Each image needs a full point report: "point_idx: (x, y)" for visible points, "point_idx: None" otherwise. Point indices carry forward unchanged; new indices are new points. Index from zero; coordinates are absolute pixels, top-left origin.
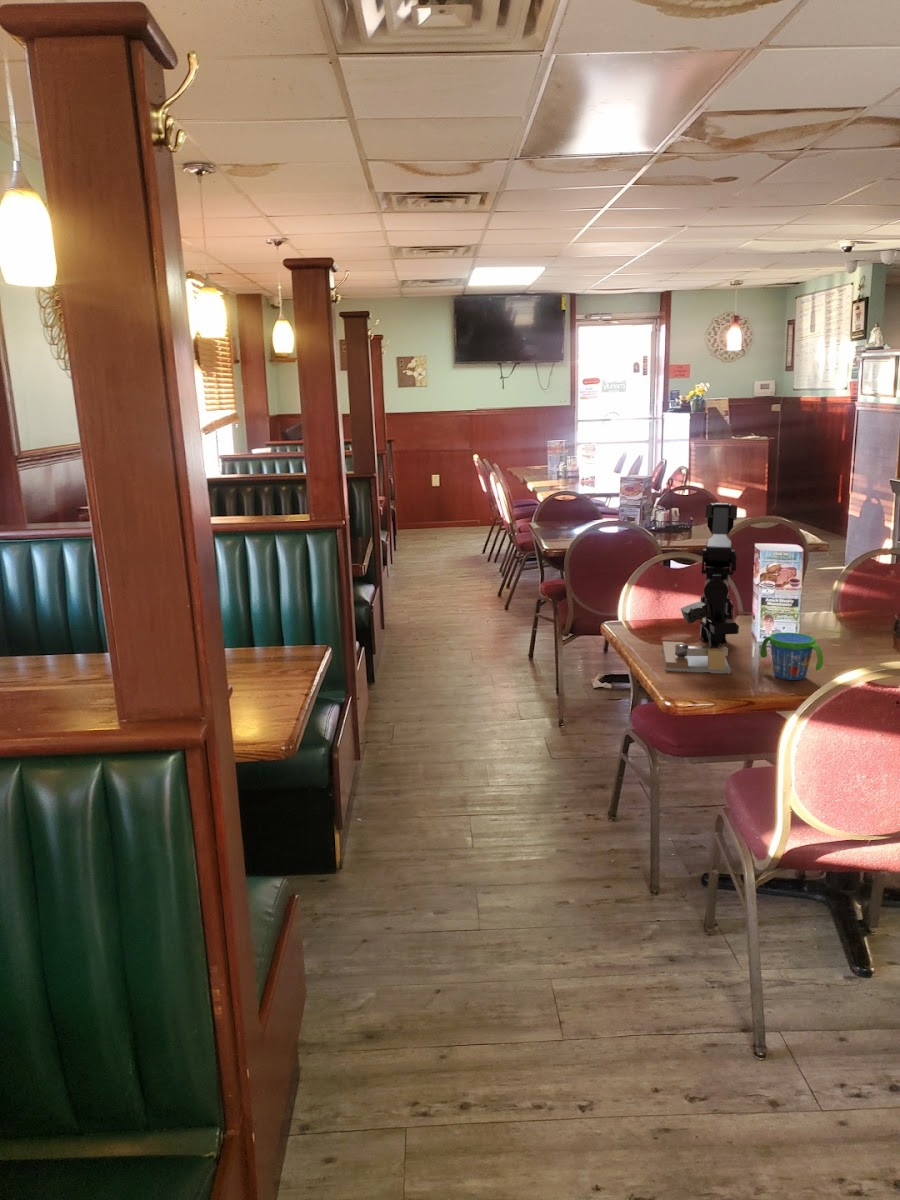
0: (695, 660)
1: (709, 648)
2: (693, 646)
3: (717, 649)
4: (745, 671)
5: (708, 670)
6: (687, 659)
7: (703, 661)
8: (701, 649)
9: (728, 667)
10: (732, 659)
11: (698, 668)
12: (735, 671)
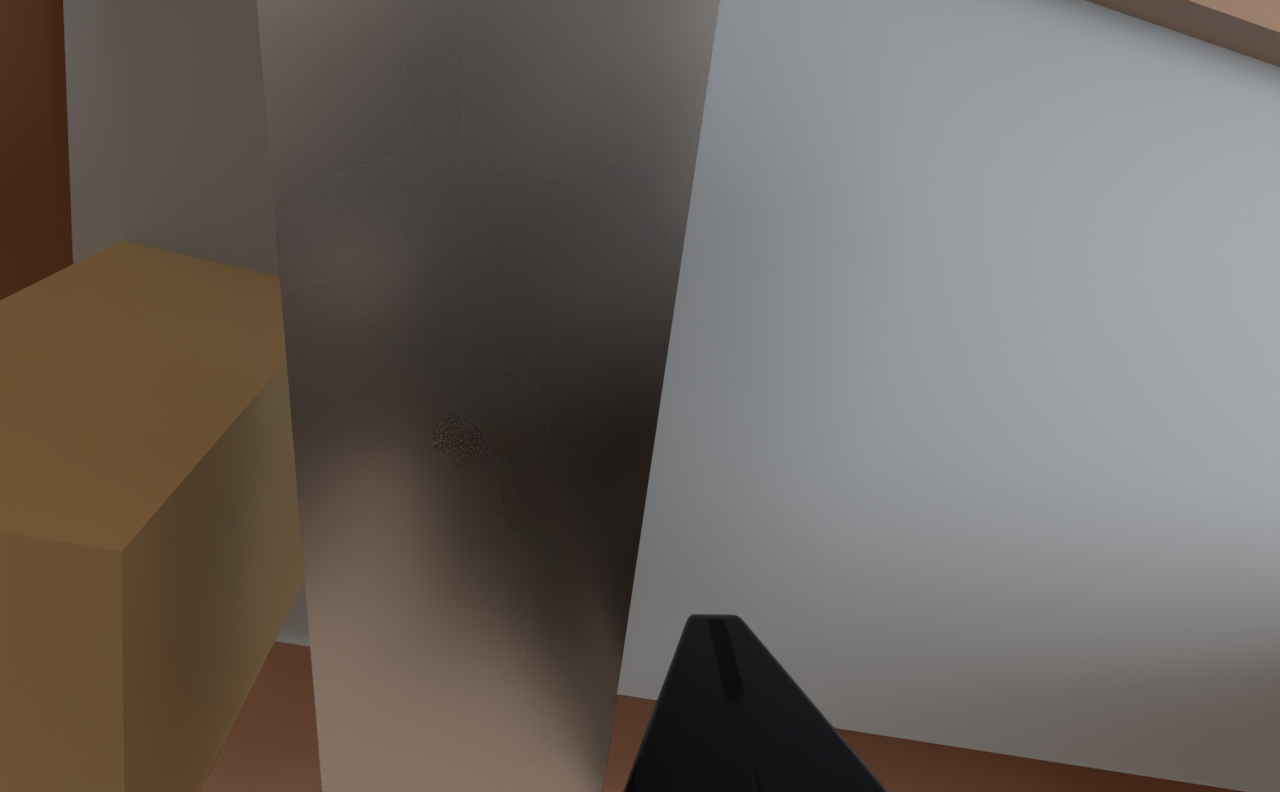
0: (821, 184)
1: (106, 587)
2: (645, 50)
3: (27, 780)
4: (292, 774)
5: (87, 229)
6: (941, 6)
7: (714, 331)
8: (306, 305)
9: (300, 629)
10: (883, 778)
11: (134, 14)
12: (278, 667)
